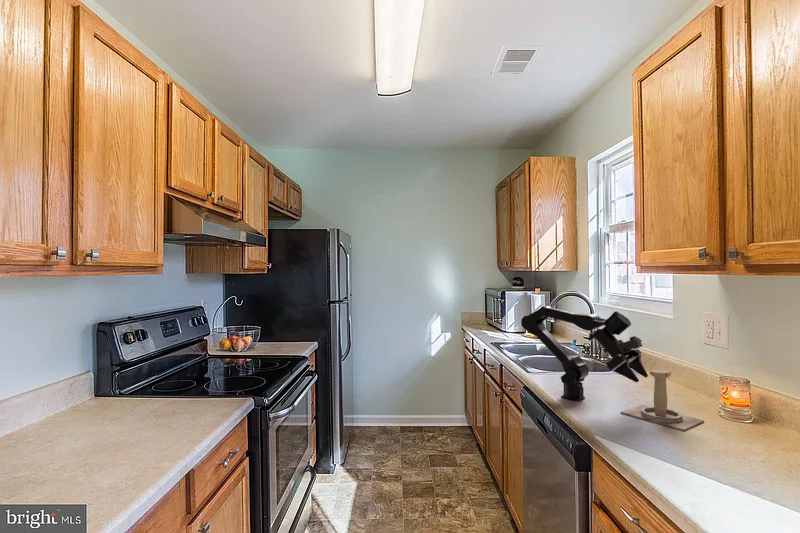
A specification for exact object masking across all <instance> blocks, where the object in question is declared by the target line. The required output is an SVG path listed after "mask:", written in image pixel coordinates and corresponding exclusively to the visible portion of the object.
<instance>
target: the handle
mask: <svg viewBox="0 0 800 533" xmlns="http://www.w3.org/2000/svg"><path fill="white" fill-rule="evenodd" d="M649 374H650V375H651V376H652V377H653V378H654V386H653V406H654V409H655V415H656V416H660V417H665V416H666V411H667V408H668V393H667V378H669V377H671V375H672V372H671V371H670V370H667V369H659V368H658V369H657V368H656V369H651V370H649Z"/></svg>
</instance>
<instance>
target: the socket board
mask: <svg viewBox="0 0 800 533" xmlns="http://www.w3.org/2000/svg"><path fill="white" fill-rule="evenodd" d="M620 414H622V415H625V416H628V417H632V418H635V419H639V420H643V421H647V422H649V421H650V423H653V422H654V424H656V423H657V425H660V426H663V425H664V427H667V428H670V429H674V430H678V431H682V432H685V431H687V430H690V429H692V428H694V427H696V426H697V427H698V426H699V425H701V424H703V423H705V419H704V420H703V419H700V418H696V417H692V416H687V415H684V414H682V413H681V412H680V411H677V410H674V409H671V408H668V407H667V411H666V416H665V417H660V416H656V415H655V409H654V405H653V406H649V405H645V404H640V405H637V406H634V407H631V408H628V409H624V410H621V411H620Z"/></svg>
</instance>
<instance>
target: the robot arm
mask: <svg viewBox="0 0 800 533" xmlns="http://www.w3.org/2000/svg"><path fill="white" fill-rule="evenodd" d="M548 318H550V319H554V320H559V321H563V322H566V323H570V324H573V325H575V326H576V327H578V328H579V329H582V330H583V331H589V332H590V331H593V330H594V332H590V333H588V341H589V342H591V341H594V340H596V341H597V342H598V344H599V345H600V347H602V348H603V353H604V354H608V355H609V356H610V357H611V358H610V360H608V361H607V362H606V367H607V369H608V370H609V371H610V372H612V371H613V373H615V374H618V375H621V376H623V377H625V378H627V379H629V380H631V381H633V383H638V382H640V380H639V378H638V376H637V375H636V374H635V372H636V373H638V374H639V375H641V376H642V377H644V378H648V377H649V374H648V373H647V370H646V368H645V367H644V365H643V362H642V356H643V354H642V351H641V350H640V348H641V347H643V344H642V339H640V337H637V336H636V335H633V336H630V337H629V340H627V341H625V342H624V340H622V339H617V338H616V336H621V334H622V333H624V332H625V331H626V330H627V329H629V328H630V327H631V326H632V323H631V322H632V321H631V320H630V319H629V318H628V317H627V316H626V315H624V314H622V313H620V312H619V311H613V312H612V314H611V315H610V316H609V317H607V318H602V317H600V316H599V315H598V314H596V313H577V312H574V311H570V310H569V311H568V310H565V309H561V308H556V307H553V306H549V305H546V306H541V307H540V308H538V309H537V310H535V311H534V312H532V313H530V314H528V315H524V316H523V317H522V318H521V320H520V323H521V324H520V326H521V327H522V328H523V329H524V330H525V331H527V332H528V333H529V334H531V335H533V336H535V337H537V338H538V340H539V341H540V342H541V343H542V344H543V345H544V346H545V347H546V348H547V349H548V350H549V351H550V352H551V354H552V355H553V356H554V357H555V358H556V359H557V360H558V361H559V362H560V363H561V366H562V369H563V371H564V372H565V373H564V374H562V375H561V376H560V381H561V383H562V384H563V394H562V395H560V397H561V398H564V399H567V400H570V401H573V402H577V401H581V400H584V399H586V396H584V395H585V394H584V386H583V382H584V380H585V378H586V377H588V376H589V369H590V368H589V366H587V365H588V363H587V362H585V361H583V359H582V357H581V356H579V355H578V356H572V355H571V354H570V353H569V352H568V351H567V349H566V348H564V347H563V346H562V344H561V343H560V342H558V339H555V337H554V336H553V335H552V334H551V333H550V331H548V330H547V328H546V325H545V323H544V322H545V321H546V320H547V319H548ZM600 327H602V328H600ZM615 335H616V336H615Z"/></svg>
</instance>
